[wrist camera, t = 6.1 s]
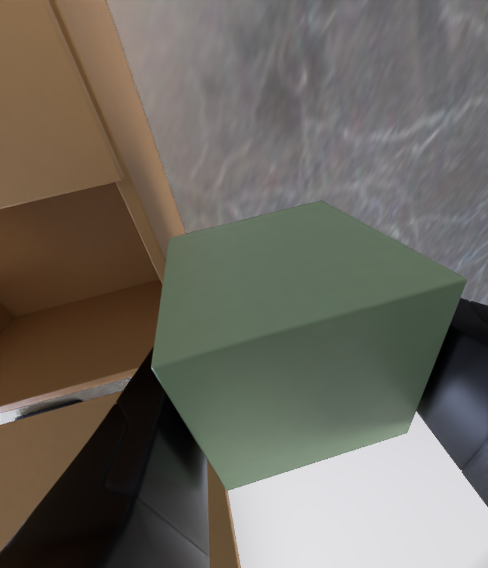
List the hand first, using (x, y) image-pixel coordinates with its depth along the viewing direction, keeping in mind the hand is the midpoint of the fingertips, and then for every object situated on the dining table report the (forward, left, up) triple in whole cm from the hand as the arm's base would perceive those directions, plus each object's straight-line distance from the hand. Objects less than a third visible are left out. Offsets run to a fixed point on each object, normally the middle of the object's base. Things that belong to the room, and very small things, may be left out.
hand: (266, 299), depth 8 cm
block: (0, 0, -1) cm, 1 cm away
